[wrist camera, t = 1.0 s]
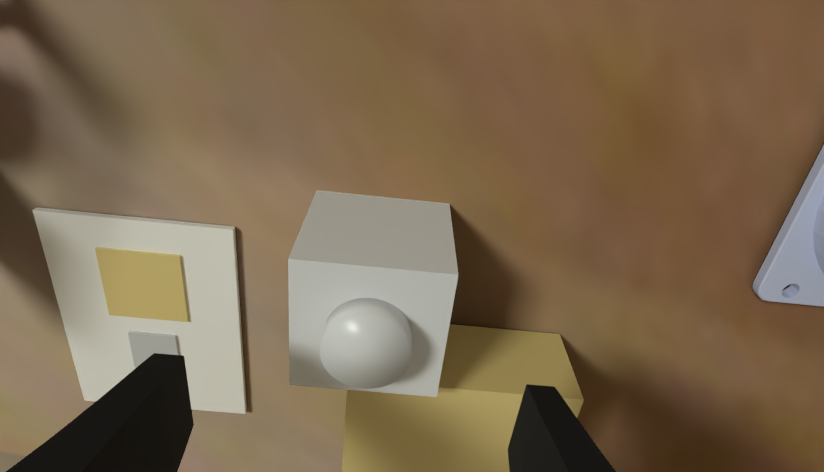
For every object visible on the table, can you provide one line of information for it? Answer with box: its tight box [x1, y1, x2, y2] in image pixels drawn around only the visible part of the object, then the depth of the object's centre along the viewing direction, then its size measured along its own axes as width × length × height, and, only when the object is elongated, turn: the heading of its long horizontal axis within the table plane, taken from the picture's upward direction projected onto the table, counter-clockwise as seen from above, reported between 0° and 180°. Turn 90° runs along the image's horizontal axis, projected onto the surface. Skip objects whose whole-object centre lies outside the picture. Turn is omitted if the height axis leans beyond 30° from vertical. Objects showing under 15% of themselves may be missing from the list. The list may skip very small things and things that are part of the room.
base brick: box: [342, 324, 584, 472], centre depth 18 cm, size 7×7×3 cm
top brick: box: [288, 190, 458, 397], centre depth 15 cm, size 4×4×5 cm
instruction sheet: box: [32, 207, 247, 414], centre depth 18 cm, size 6×8×1 cm
